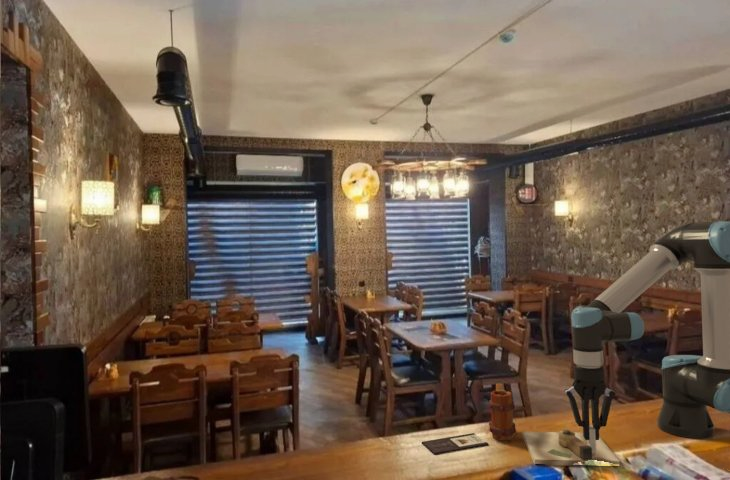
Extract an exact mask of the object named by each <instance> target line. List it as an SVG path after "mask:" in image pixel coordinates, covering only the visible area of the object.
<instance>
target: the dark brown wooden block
mask: <svg viewBox="0 0 730 480" xmlns="http://www.w3.org/2000/svg"><path fill="white" fill-rule="evenodd" d="M558 432H559V445H561V446H563V447H568V448H569V449H570V450H572V451H573V452H574V453H575V454H577V455H578V456H579V457H580V458H581V459H582V460H591V459H592V448H591V447H590V446H588V445H587V444H585V443H584V442H582V441H581V440H580V439H578V438H577V437H576V436H575V433H574V431H571V430H569V429H562V430H559V431H558Z"/></svg>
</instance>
